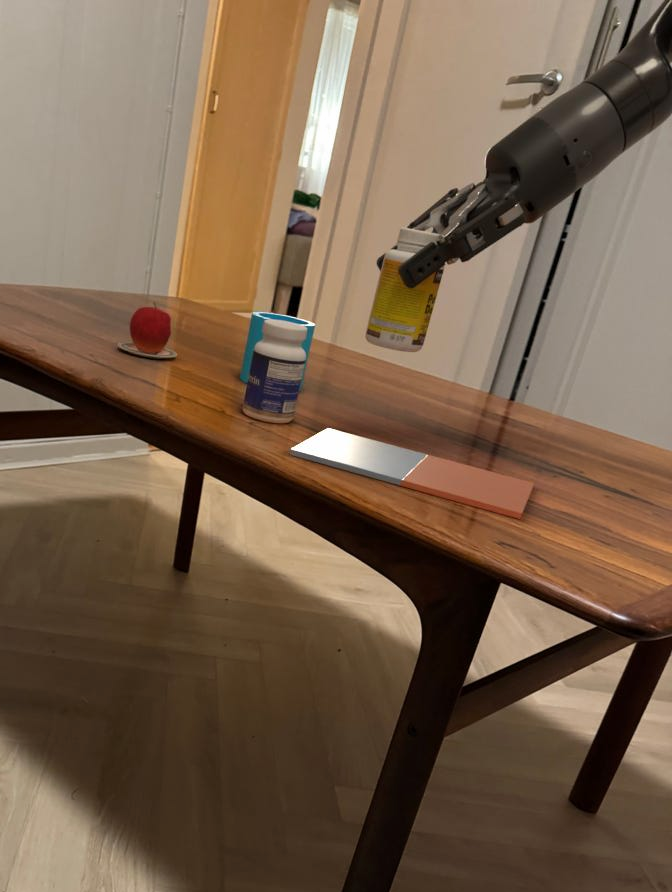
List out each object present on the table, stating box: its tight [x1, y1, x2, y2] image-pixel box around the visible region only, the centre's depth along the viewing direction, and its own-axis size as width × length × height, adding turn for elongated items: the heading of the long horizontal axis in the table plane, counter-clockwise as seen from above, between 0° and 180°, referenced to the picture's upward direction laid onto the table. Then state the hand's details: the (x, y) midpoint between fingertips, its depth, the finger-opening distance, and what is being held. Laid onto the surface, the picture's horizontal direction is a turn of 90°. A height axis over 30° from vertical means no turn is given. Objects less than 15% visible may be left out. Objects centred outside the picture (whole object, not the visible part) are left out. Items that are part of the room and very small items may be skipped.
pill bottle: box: [242, 319, 307, 424], centre depth 97 cm, size 6×6×10 cm
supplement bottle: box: [365, 227, 446, 353], centre depth 84 cm, size 6×6×10 cm
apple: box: [117, 301, 178, 360], centre depth 121 cm, size 8×8×6 cm
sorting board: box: [289, 427, 535, 520], centre depth 89 cm, size 22×13×1 cm, turn 66°
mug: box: [239, 311, 316, 392], centre depth 117 cm, size 12×8×8 cm
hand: (392, 274), depth 83 cm, fingers closed on supplement bottle, 5 cm apart
